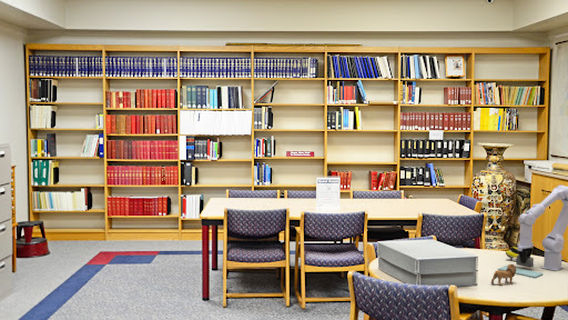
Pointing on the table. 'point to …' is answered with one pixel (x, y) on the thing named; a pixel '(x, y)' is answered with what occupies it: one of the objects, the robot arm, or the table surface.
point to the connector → (528, 263)
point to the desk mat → (523, 272)
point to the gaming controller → (512, 253)
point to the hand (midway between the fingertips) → (524, 262)
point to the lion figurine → (505, 274)
